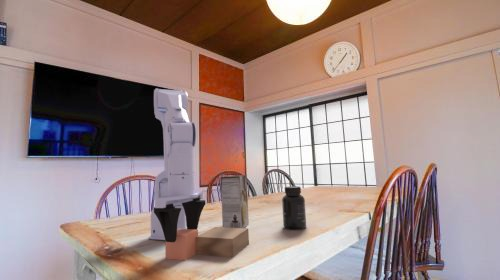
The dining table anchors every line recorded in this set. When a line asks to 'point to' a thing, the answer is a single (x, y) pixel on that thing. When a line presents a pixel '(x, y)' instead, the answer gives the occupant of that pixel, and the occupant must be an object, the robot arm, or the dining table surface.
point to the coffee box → (234, 201)
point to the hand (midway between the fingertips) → (182, 236)
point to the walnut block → (222, 241)
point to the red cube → (182, 245)
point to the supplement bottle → (293, 209)
